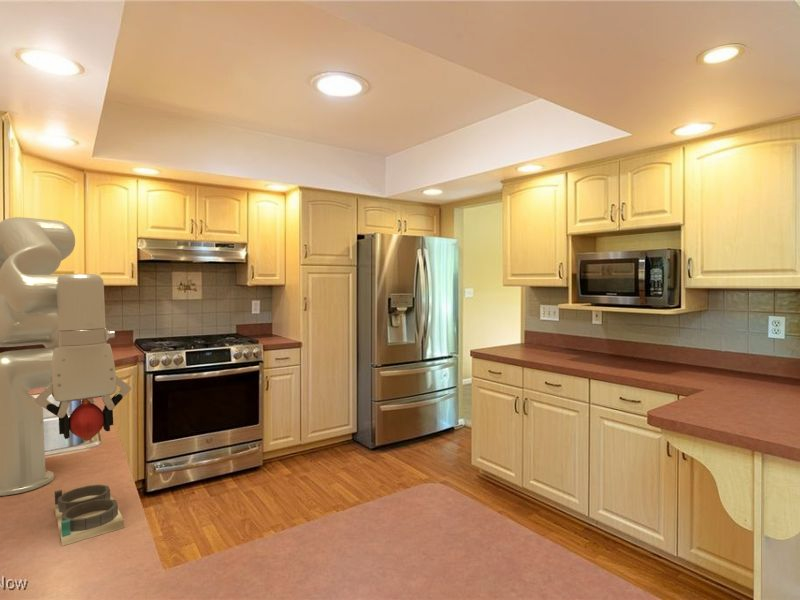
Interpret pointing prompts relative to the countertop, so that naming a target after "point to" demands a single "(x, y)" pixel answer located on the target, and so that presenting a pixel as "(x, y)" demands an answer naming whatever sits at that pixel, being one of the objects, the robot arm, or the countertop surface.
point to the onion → (86, 420)
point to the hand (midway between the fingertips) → (87, 432)
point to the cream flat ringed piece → (86, 513)
